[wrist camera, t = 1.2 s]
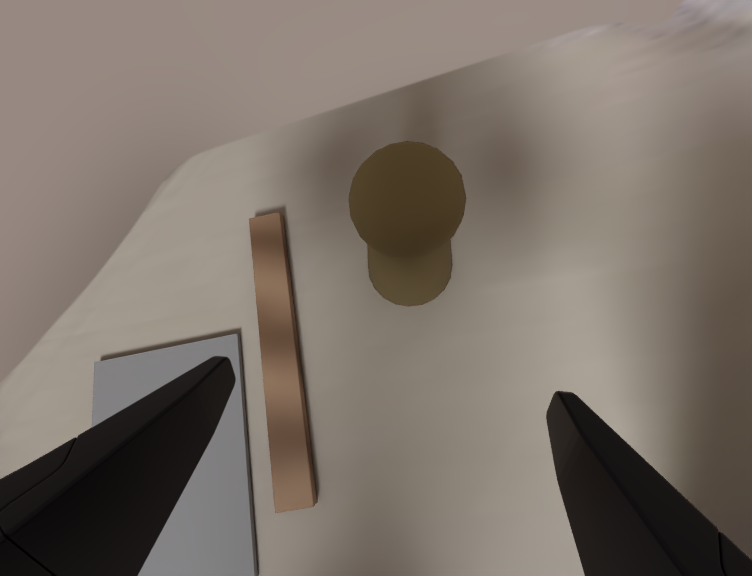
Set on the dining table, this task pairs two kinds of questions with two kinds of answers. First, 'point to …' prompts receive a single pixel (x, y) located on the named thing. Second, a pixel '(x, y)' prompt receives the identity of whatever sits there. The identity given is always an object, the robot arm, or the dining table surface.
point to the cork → (408, 219)
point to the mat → (213, 473)
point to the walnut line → (281, 367)
